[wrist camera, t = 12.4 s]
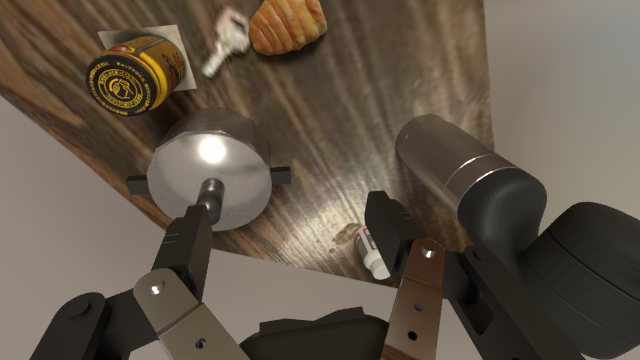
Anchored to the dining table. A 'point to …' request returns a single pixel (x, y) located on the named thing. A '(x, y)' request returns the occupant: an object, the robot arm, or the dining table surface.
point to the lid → (210, 178)
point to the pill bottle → (370, 253)
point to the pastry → (286, 25)
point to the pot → (222, 123)
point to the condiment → (139, 69)
